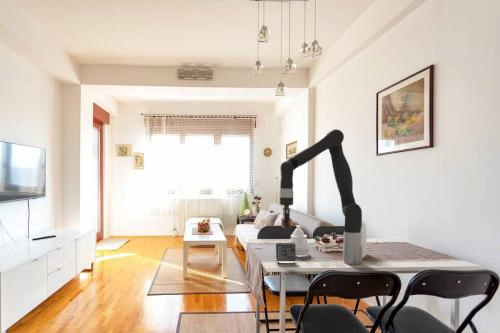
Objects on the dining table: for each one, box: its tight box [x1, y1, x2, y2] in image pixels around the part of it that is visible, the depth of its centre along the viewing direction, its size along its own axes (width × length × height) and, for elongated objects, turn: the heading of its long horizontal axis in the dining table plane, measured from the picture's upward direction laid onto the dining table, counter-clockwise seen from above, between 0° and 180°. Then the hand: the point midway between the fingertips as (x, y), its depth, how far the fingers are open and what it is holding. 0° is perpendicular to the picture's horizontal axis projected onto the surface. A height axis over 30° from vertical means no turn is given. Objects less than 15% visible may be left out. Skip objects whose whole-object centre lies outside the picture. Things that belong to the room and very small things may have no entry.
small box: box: [275, 242, 297, 261], centre depth 202 cm, size 11×6×10 cm, turn 92°
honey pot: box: [289, 225, 310, 255], centre depth 219 cm, size 13×13×18 cm
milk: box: [342, 220, 368, 259], centre depth 217 cm, size 12×12×26 cm
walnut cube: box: [281, 217, 292, 229], centre depth 201 cm, size 5×5×5 cm
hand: (286, 226), depth 201 cm, fingers closed on walnut cube, 5 cm apart
